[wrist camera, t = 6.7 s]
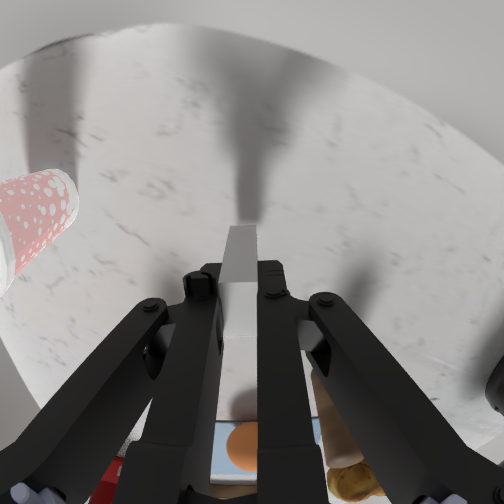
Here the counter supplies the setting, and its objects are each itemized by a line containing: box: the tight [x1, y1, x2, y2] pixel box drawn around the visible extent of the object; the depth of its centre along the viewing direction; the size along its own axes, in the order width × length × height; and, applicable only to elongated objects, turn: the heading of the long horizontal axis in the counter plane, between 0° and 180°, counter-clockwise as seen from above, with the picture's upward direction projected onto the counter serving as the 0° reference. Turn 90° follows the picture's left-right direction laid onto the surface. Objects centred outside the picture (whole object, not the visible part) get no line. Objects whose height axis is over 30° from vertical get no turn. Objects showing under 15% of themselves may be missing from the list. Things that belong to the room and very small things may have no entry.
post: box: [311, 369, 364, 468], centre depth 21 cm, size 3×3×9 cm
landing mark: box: [211, 418, 321, 475], centre depth 31 cm, size 14×14×1 cm
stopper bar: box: [210, 484, 257, 499], centre depth 35 cm, size 16×2×2 cm, turn 92°
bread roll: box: [327, 458, 386, 502], centre depth 29 cm, size 13×10×8 cm
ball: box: [226, 421, 258, 472], centre depth 26 cm, size 6×6×6 cm
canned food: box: [88, 456, 124, 504], centre depth 30 cm, size 8×8×11 cm
